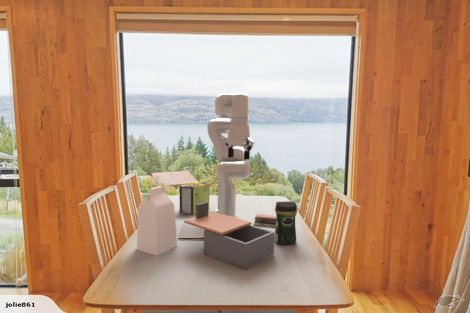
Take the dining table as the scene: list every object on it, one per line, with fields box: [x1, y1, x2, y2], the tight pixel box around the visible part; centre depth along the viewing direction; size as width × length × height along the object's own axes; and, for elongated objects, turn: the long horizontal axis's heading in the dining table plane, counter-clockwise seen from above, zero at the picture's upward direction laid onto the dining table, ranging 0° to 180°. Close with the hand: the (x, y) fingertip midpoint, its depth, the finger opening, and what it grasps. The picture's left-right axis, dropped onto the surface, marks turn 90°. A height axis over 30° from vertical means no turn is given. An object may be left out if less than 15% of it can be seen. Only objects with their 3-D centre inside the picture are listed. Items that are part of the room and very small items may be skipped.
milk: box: [136, 185, 178, 256], centre depth 146 cm, size 12×12×26 cm
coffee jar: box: [274, 201, 298, 245], centre depth 156 cm, size 10×8×19 cm
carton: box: [203, 224, 275, 271], centre depth 142 cm, size 22×18×10 cm
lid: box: [183, 202, 252, 235], centre depth 148 cm, size 22×18×7 cm
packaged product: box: [253, 213, 276, 229], centre depth 181 cm, size 18×5×10 cm
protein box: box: [179, 181, 211, 216], centre depth 203 cm, size 10×15×16 cm
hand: (238, 158), depth 161 cm, fingers open, 9 cm apart
